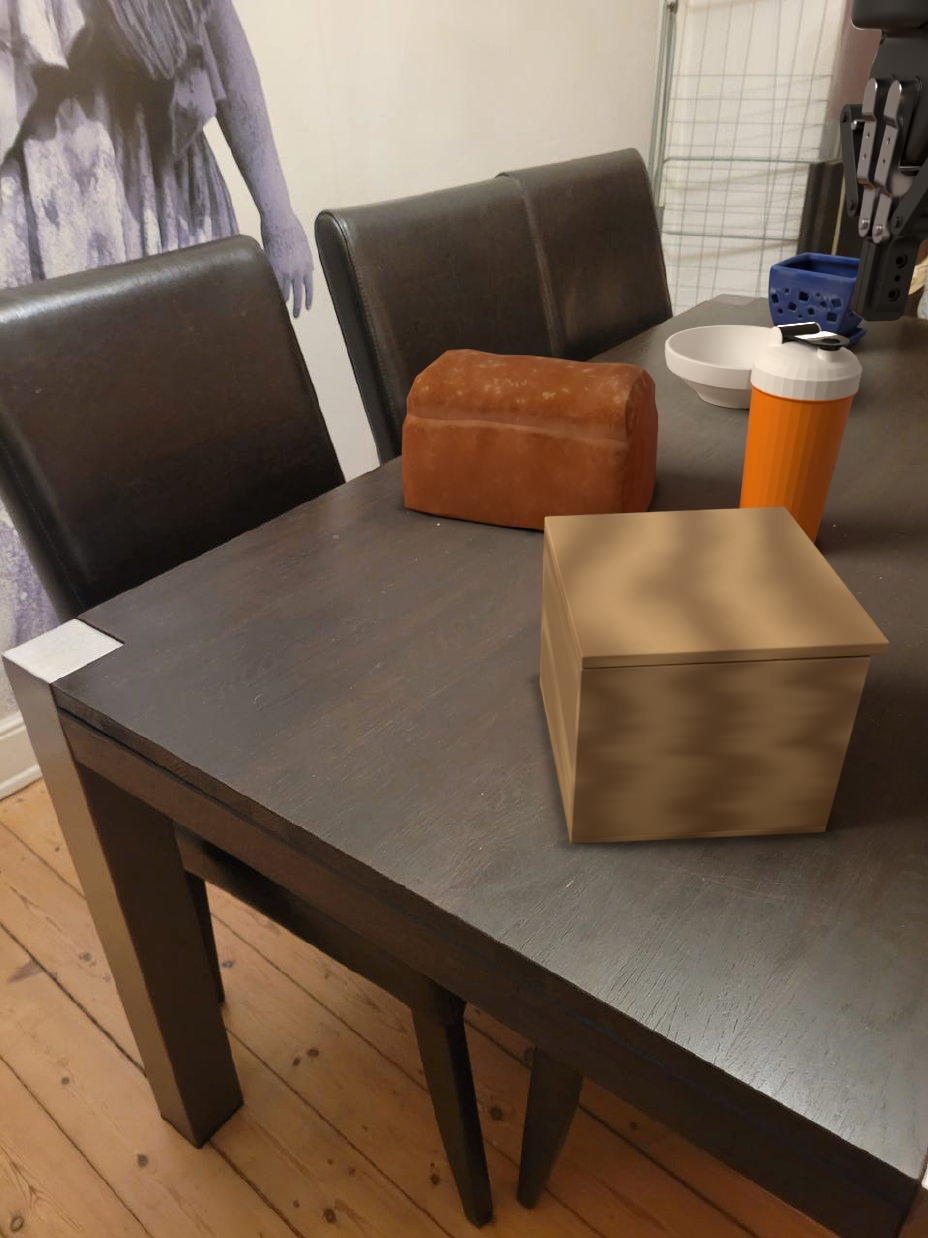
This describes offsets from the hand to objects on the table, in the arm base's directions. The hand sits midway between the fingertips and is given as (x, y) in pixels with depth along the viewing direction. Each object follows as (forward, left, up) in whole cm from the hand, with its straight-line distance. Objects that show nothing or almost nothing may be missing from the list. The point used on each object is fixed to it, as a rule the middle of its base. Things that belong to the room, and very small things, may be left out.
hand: (875, 316), depth 48 cm
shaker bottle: (-9, -29, -29) cm, 42 cm away
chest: (+8, 0, -29) cm, 30 cm away
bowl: (-17, -69, -29) cm, 77 cm away
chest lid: (+8, 0, -16) cm, 17 cm away
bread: (+13, -41, -29) cm, 52 cm away
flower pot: (-36, -92, -29) cm, 103 cm away
